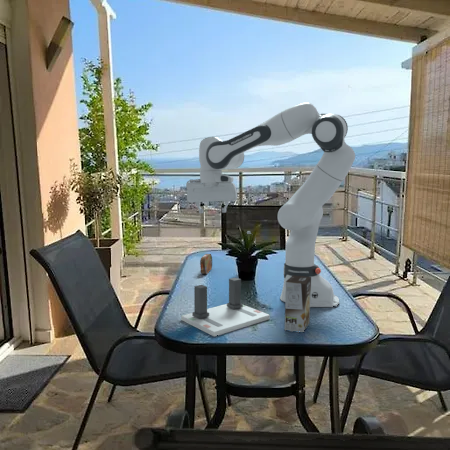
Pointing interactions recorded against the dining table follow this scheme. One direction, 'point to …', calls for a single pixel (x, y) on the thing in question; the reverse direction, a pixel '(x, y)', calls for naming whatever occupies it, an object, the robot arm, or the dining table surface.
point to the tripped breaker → (200, 302)
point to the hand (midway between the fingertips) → (212, 212)
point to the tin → (206, 263)
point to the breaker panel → (226, 319)
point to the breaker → (234, 293)
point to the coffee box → (297, 303)
